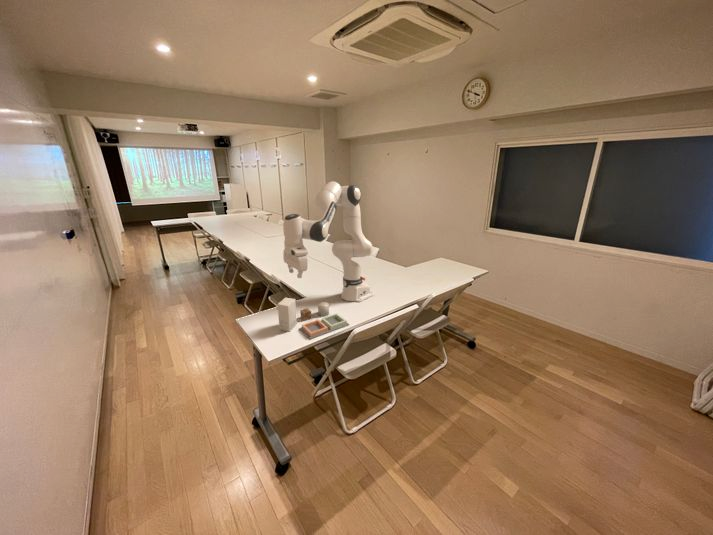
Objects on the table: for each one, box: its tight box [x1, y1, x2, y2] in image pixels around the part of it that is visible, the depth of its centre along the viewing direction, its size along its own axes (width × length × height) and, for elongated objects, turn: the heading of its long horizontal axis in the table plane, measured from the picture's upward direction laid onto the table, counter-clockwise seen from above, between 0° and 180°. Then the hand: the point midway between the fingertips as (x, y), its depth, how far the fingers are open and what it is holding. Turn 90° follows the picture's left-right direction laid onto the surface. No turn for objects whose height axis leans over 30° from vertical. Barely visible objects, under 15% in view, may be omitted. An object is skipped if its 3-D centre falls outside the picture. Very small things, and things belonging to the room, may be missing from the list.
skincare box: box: [277, 297, 298, 332], centre depth 145 cm, size 8×7×16 cm
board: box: [299, 313, 350, 340], centre depth 148 cm, size 24×12×3 cm, turn 127°
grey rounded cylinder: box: [317, 301, 330, 317], centre depth 161 cm, size 6×6×6 cm
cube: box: [299, 307, 312, 322], centre depth 155 cm, size 4×4×5 cm
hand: (295, 275), depth 138 cm, fingers open, 8 cm apart
